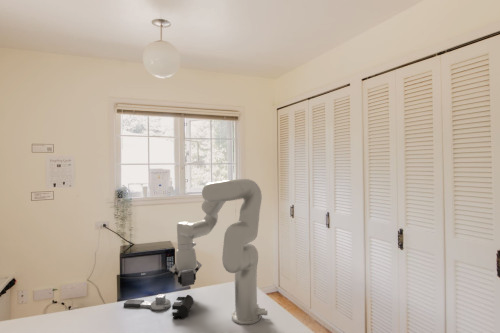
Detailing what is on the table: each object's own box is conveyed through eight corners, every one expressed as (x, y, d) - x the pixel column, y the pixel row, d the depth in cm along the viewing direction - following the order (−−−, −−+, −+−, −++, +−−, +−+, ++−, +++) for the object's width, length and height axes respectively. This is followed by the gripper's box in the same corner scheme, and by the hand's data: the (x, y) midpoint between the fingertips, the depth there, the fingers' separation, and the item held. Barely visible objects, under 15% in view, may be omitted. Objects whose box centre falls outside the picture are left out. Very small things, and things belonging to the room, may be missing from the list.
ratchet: (173, 302, 145) (173, 292, 145) (165, 311, 136) (165, 300, 136) (131, 300, 148) (130, 290, 148) (120, 309, 139) (120, 298, 139)
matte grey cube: (191, 280, 153) (191, 268, 153) (194, 284, 148) (193, 272, 148) (180, 282, 151) (179, 270, 151) (182, 286, 145) (181, 274, 146)
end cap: (188, 320, 128) (187, 304, 128) (172, 320, 129) (171, 304, 129) (194, 309, 138) (193, 294, 138) (179, 309, 139) (178, 294, 139)
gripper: (200, 242, 156) (202, 277, 156) (166, 247, 150) (168, 283, 150) (204, 245, 149) (205, 281, 149) (168, 250, 143) (170, 288, 143)
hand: (187, 282), depth 149 cm, fingers closed on matte grey cube, 6 cm apart
